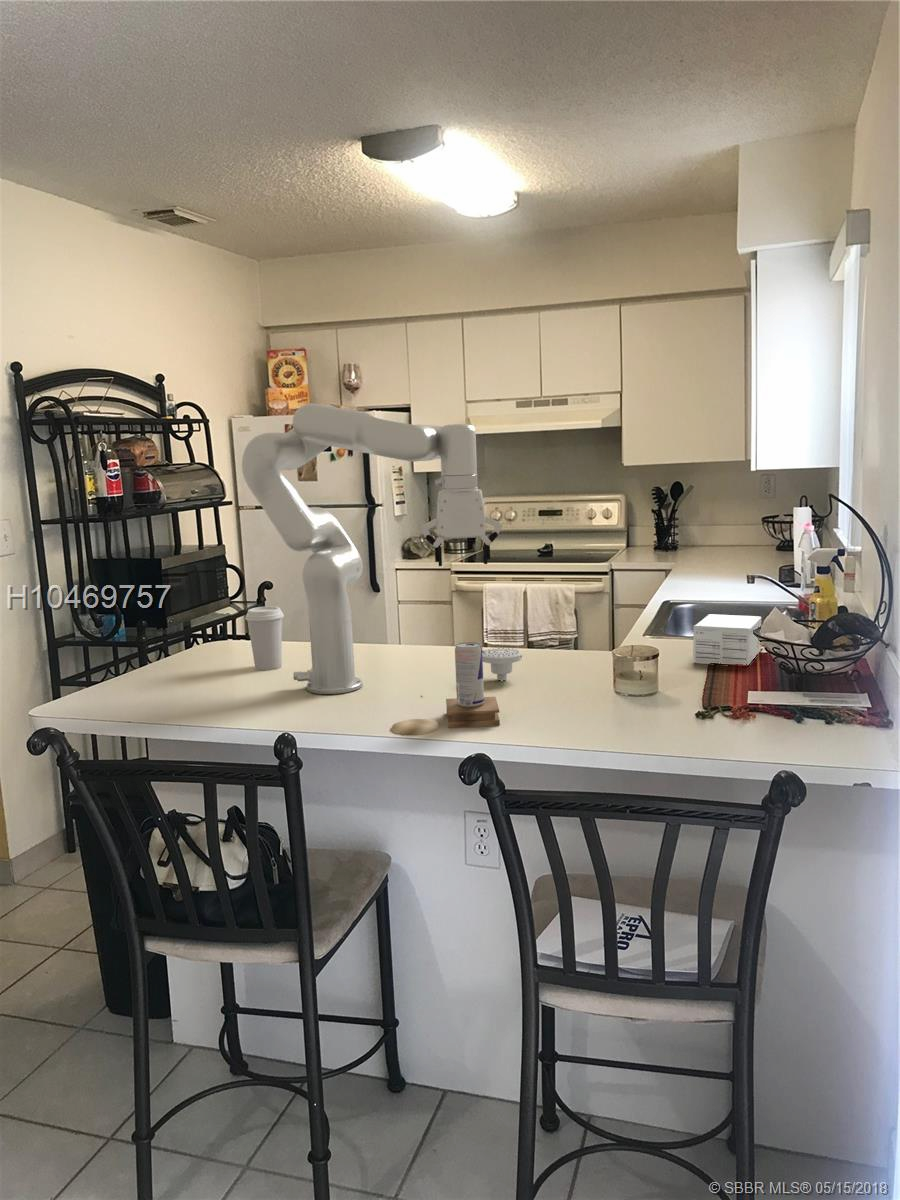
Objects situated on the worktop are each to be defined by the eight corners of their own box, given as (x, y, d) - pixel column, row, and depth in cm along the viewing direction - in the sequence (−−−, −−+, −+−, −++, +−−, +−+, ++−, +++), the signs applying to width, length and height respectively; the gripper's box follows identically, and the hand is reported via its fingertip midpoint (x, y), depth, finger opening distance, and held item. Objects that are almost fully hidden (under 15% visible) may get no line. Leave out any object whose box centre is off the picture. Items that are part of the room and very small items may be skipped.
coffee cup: (295, 665, 240) (291, 607, 237) (269, 673, 232) (264, 613, 229) (267, 661, 245) (263, 604, 242) (241, 669, 237) (236, 611, 234)
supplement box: (749, 668, 218) (750, 628, 216) (692, 664, 224) (692, 625, 222) (761, 652, 233) (762, 615, 231) (707, 649, 239) (708, 612, 237)
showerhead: (481, 644, 220) (524, 644, 218) (482, 674, 221) (524, 675, 219) (474, 653, 211) (518, 653, 209) (475, 685, 212) (519, 685, 210)
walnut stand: (447, 727, 181) (447, 712, 180) (446, 713, 191) (446, 698, 190) (499, 725, 181) (499, 710, 181) (495, 710, 191) (495, 696, 190)
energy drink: (487, 701, 187) (485, 642, 185) (479, 708, 182) (477, 647, 180) (461, 700, 189) (459, 641, 187) (453, 707, 184) (450, 647, 182)
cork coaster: (392, 738, 177) (392, 734, 177) (392, 724, 186) (391, 720, 186) (439, 735, 178) (439, 731, 177) (437, 721, 186) (437, 717, 186)
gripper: (418, 486, 194) (422, 568, 197) (502, 482, 195) (504, 564, 197) (418, 484, 202) (422, 564, 205) (499, 481, 202) (501, 560, 205)
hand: (462, 564), depth 201 cm, fingers open, 9 cm apart
